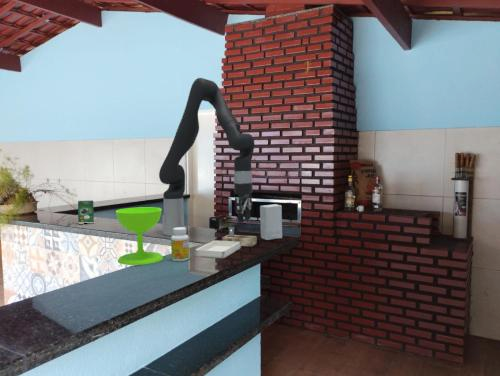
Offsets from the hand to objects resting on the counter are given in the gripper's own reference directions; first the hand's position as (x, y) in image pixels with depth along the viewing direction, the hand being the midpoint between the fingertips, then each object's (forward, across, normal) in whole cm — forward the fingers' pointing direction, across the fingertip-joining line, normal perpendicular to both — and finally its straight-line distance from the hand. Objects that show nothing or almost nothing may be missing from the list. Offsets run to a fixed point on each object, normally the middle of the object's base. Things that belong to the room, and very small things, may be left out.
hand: (244, 220), depth 175 cm
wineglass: (+10, +34, -28) cm, 45 cm away
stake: (+10, 0, -6) cm, 11 cm away
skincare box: (+10, -15, +7) cm, 19 cm away
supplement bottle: (+10, +30, -14) cm, 35 cm away
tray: (+10, +16, -5) cm, 19 cm away
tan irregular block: (+10, 0, -2) cm, 10 cm away
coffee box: (+9, -27, -104) cm, 108 cm away
